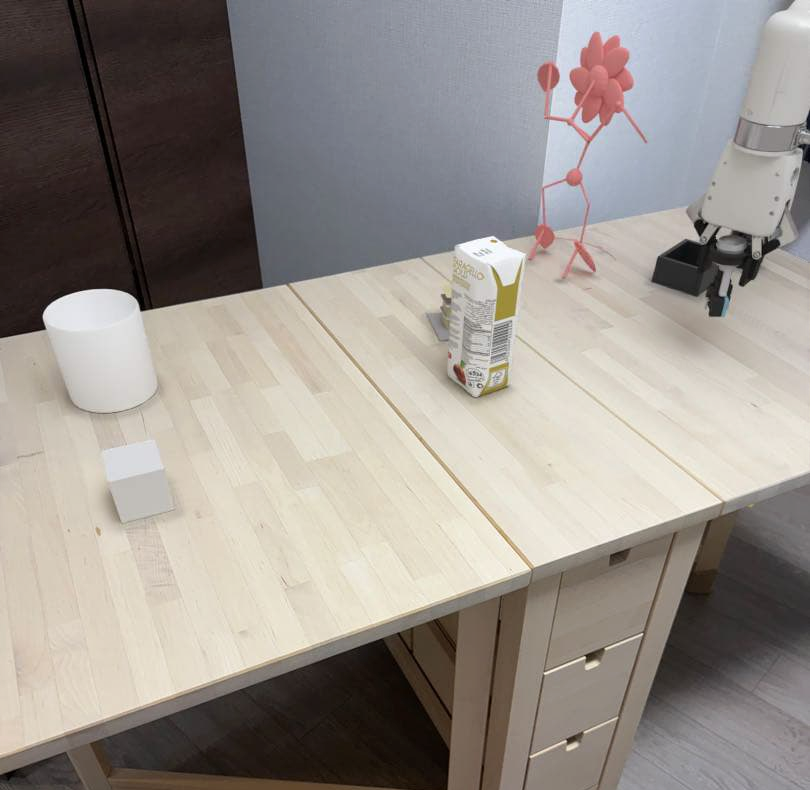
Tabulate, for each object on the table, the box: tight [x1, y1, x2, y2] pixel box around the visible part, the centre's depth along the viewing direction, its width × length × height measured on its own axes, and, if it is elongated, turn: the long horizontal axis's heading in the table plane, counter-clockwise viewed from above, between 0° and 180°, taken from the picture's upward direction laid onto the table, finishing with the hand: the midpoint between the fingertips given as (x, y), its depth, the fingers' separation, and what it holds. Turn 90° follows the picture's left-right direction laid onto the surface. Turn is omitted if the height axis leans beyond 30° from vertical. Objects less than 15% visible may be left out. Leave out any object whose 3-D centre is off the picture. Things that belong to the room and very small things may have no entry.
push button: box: [703, 234, 752, 318], centre depth 104 cm, size 7×5×10 cm
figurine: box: [528, 31, 648, 291], centre depth 124 cm, size 15×26×35 cm, turn 33°
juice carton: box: [447, 235, 527, 398], centre depth 100 cm, size 8×9×19 cm
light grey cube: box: [100, 438, 176, 524], centre depth 84 cm, size 6×6×6 cm
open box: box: [651, 238, 719, 297], centre depth 130 cm, size 9×11×4 cm
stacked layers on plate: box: [426, 284, 452, 341], centre depth 116 cm, size 10×9×6 cm
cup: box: [42, 288, 159, 414], centre depth 99 cm, size 12×12×12 cm
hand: (724, 275), depth 104 cm, fingers closed on push button, 5 cm apart
